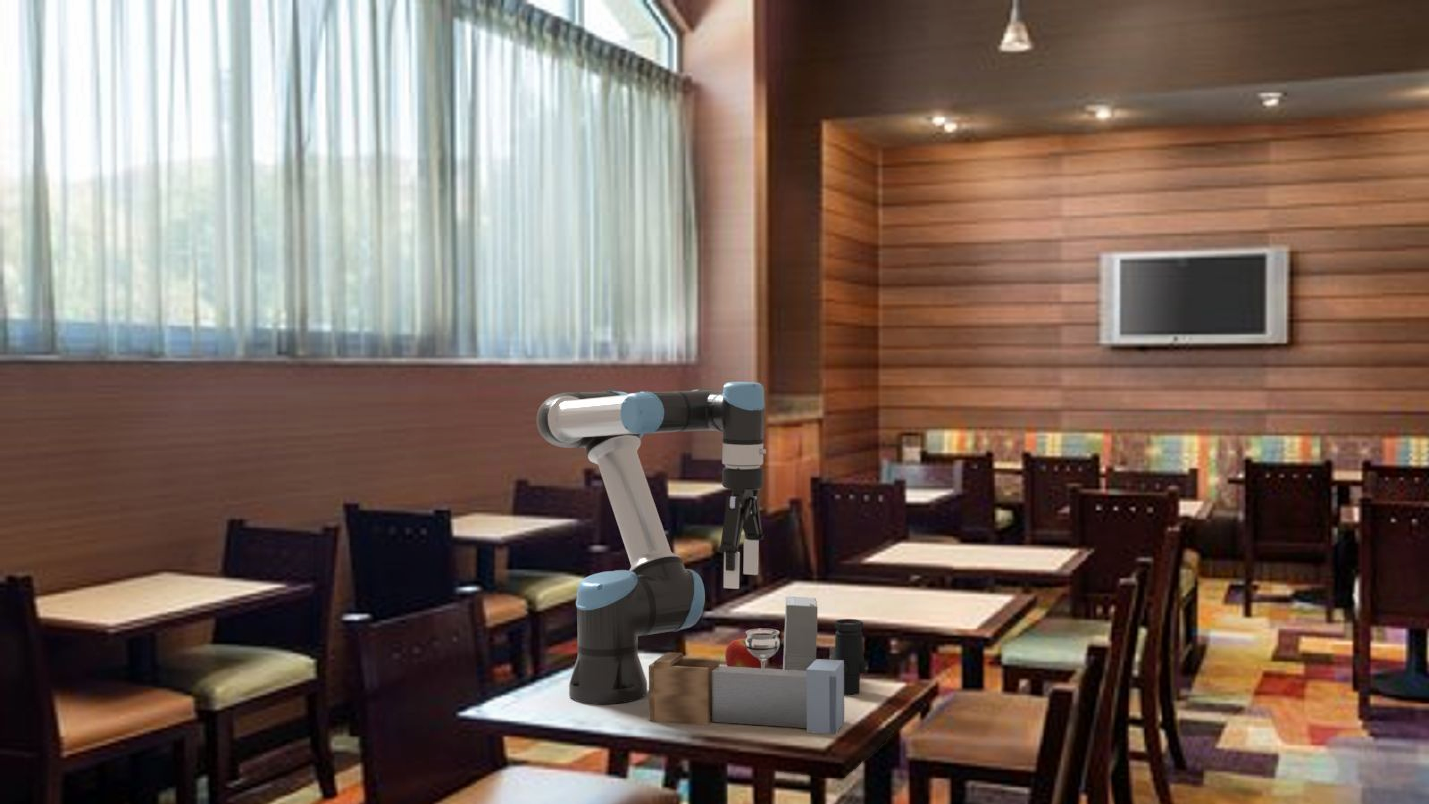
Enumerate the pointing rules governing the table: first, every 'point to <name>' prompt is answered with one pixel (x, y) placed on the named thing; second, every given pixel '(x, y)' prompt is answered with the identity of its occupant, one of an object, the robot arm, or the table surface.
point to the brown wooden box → (681, 689)
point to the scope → (850, 653)
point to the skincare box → (800, 633)
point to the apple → (740, 655)
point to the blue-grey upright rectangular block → (825, 696)
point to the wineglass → (762, 643)
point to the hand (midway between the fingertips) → (741, 581)
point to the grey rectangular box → (759, 696)
